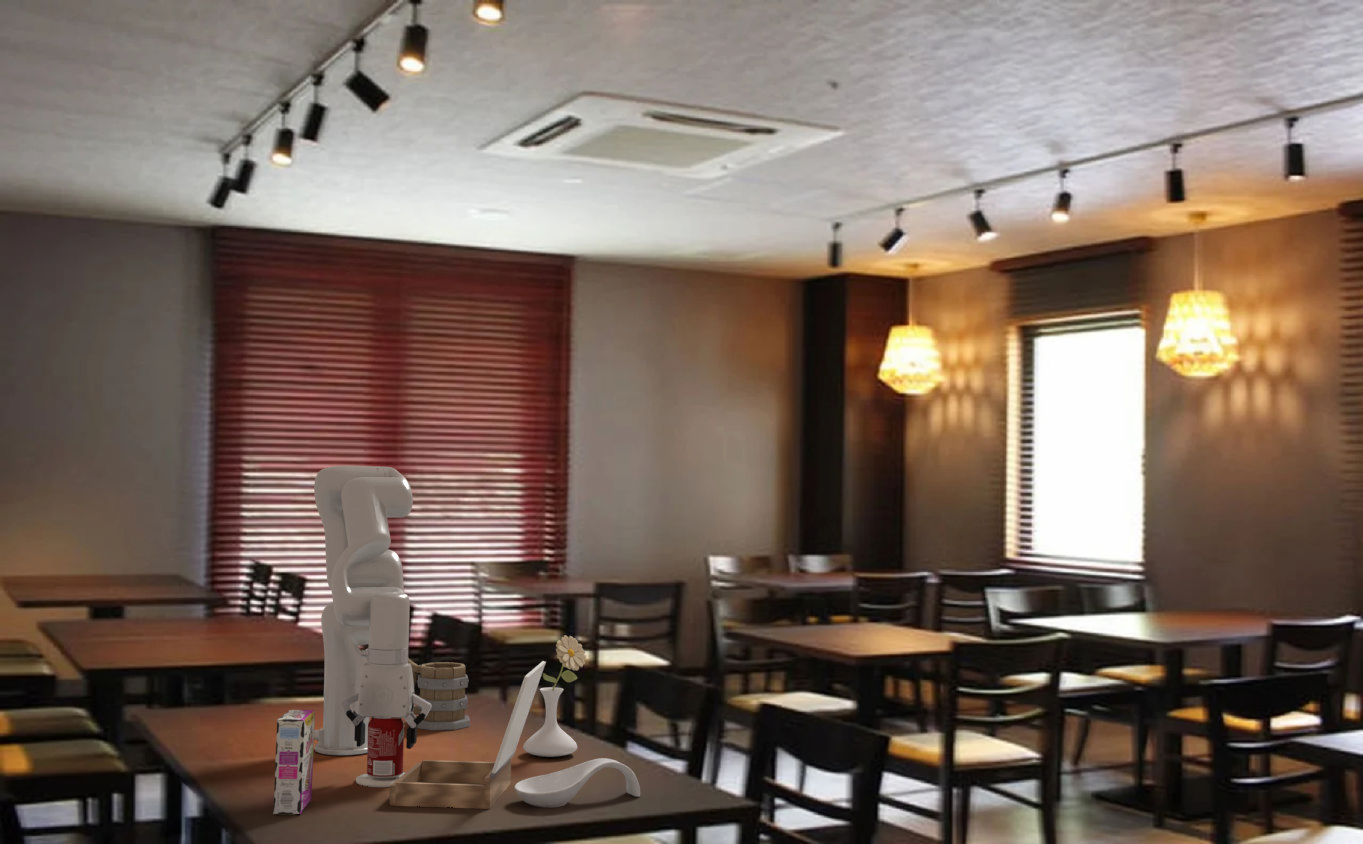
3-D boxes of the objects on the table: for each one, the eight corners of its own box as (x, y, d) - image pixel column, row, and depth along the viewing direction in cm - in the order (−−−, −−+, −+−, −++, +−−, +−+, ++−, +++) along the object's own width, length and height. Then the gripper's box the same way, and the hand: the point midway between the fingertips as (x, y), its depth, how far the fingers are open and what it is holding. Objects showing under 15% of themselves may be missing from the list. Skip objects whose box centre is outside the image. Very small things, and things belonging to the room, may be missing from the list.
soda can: (394, 782, 266) (396, 718, 266) (361, 780, 267) (362, 716, 267) (408, 774, 273) (409, 712, 273) (375, 772, 274) (376, 710, 274)
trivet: (348, 786, 265) (348, 783, 265) (365, 773, 276) (365, 770, 276) (406, 788, 264) (406, 785, 264) (420, 775, 275) (420, 772, 275)
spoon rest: (528, 815, 246) (529, 774, 246) (504, 801, 257) (504, 761, 257) (649, 802, 258) (650, 762, 258) (621, 788, 268) (621, 750, 268)
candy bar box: (302, 816, 242) (304, 720, 243) (272, 816, 242) (275, 719, 242) (313, 800, 253) (316, 708, 254) (285, 800, 253) (287, 708, 253)
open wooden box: (389, 805, 250) (390, 775, 251) (417, 780, 270) (418, 752, 271) (489, 809, 249) (490, 778, 249) (510, 783, 269) (511, 755, 269)
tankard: (480, 724, 330) (481, 660, 330) (443, 732, 319) (445, 666, 320) (417, 715, 341) (418, 653, 341) (379, 722, 330) (381, 658, 330)
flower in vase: (534, 762, 289) (537, 640, 290) (515, 752, 299) (517, 633, 300) (593, 757, 295) (595, 637, 296) (571, 747, 305) (574, 631, 306)
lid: (524, 676, 250) (528, 677, 250) (542, 660, 270) (546, 662, 270) (489, 777, 249) (493, 778, 249) (510, 754, 269) (514, 756, 269)
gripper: (337, 658, 267) (335, 748, 267) (427, 661, 266) (425, 752, 266) (349, 652, 275) (346, 740, 275) (437, 655, 274) (434, 744, 274)
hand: (385, 746), depth 270 cm, fingers open, 9 cm apart
